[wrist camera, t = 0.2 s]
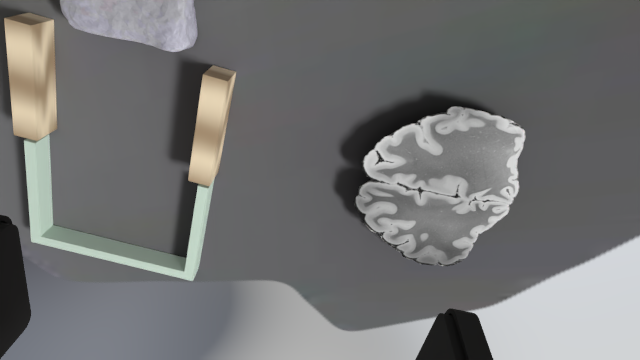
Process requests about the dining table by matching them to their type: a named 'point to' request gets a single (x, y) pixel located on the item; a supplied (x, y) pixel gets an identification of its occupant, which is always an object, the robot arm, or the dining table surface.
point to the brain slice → (441, 183)
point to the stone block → (136, 20)
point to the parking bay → (100, 246)
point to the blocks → (40, 93)
